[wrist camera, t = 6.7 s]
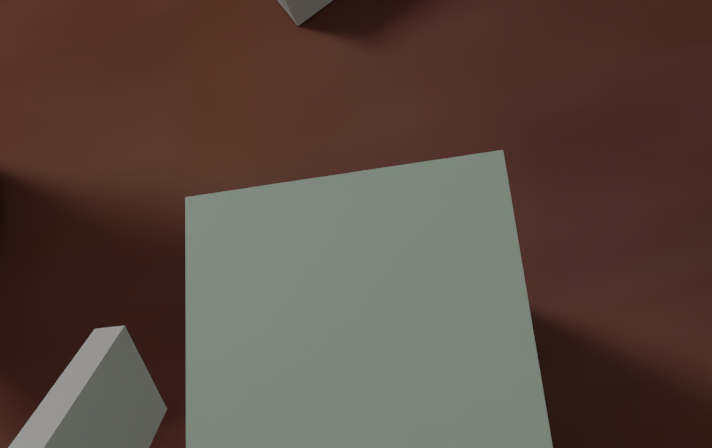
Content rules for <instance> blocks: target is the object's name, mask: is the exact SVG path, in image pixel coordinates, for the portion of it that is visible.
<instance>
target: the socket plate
mask: <svg viewBox="0 0 712 448" xmlns="http://www.w3.org/2000/svg"><path fill="white" fill-rule="evenodd" d="M277 1H278V2H279V3H280V5H281V6H282V7H283V8H284V10H285V11H286V12H287V13H288V14H289V16H290V17H291V18H292V19H293V21H294V22H295V23H296V24H297V26H299V25H301V24H302V23H303V22H305V21H306V20H307V19H309V18H310V17H311V16H313V15H314V14H315V13H317V12H318V11H319V10H321V9H322V8H323V7H325V6H326V5H328V4H329V3H330V2H332V1H333V0H277Z"/></svg>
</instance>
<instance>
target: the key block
mask: <svg viewBox="0 0 712 448" xmlns="http://www.w3.org/2000/svg"><path fill="white" fill-rule="evenodd" d="M185 304H186V448H553V445H552V439H551V433H550V427H549V421H548V415H547V409H546V403H545V397H544V391H543V385H542V379H541V373H540V367H539V361H538V355H537V349H536V344H535V338H534V332H533V326H532V320H531V314H530V308H529V302H528V296H527V290H526V284H525V278H524V272H523V266H522V260H521V254H520V248H519V242H518V236H517V230H516V224H515V218H514V212H513V206H512V200H511V194H510V188H509V182H508V176H507V170H506V165H505V159H504V153H503V150H499V151H492V152H485V153H479V154H472V155H465V156H459V157H452V158H445V159H438V160H432V161H425V162H418V163H412V164H405V165H398V166H392V167H385V168H378V169H371V170H365V171H358V172H351V173H345V174H338V175H331V176H325V177H318V178H311V179H304V180H298V181H291V182H284V183H278V184H271V185H264V186H258V187H251V188H244V189H237V190H231V191H224V192H217V193H211V194H204V195H197V196H190V197H185Z"/></svg>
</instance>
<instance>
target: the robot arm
mask: <svg viewBox="0 0 712 448" xmlns="http://www.w3.org/2000/svg"><path fill="white" fill-rule="evenodd" d="M166 411H167V408H166V406H165V404H164V402H163V400H162V398H161V396H160V394H159V392H158V390H157V388H156V386H155V384H154V382H153V380H152V378H151V376H150V374H149V372H148V370H147V368H146V366H145V364H144V362H143V360H142V358H141V356H140V355H139V353H138V351H137V349H136V347H135V345H134V343H133V341H132V339H131V337H130V335H129V333H128V331H127V329H126V327H125V325H124V326H115V327H105V328H96V329H94V330H93V332H92V333H91V334H90V336H89V337H88V338H87V340H86V341H85V343H84V344H83V345H82V347H81V348H80V350H79V351H78V352H77V354H76V355H75V356H74V358H73V359H72V361H71V362H70V363H69V365H68V366H67V367H66V369H65V370H64V372H63V373H62V374H61V376H60V377H59V378H58V380H57V381H56V383H55V384H54V385H53V387H52V388H51V389H50V391H49V392H48V394H47V395H46V396H45V398H44V399H43V400H42V402H41V403H40V405H39V406H38V407H37V409H36V410H35V412H34V413H33V414H32V416H31V417H30V418H29V420H28V421H27V423H26V424H25V425H24V427H23V428H22V429H21V431H20V432H19V434H18V435H17V436H16V438H15V439H14V440H13V442H12V443H11V445H10V446H9V447H8V448H149V447H150V445H151V443H152V440H153V438H154V436H155V434H156V432H157V430H158V428H159V426H160V423H161V421H162V419H163V417H164V415H165V413H166Z"/></svg>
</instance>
